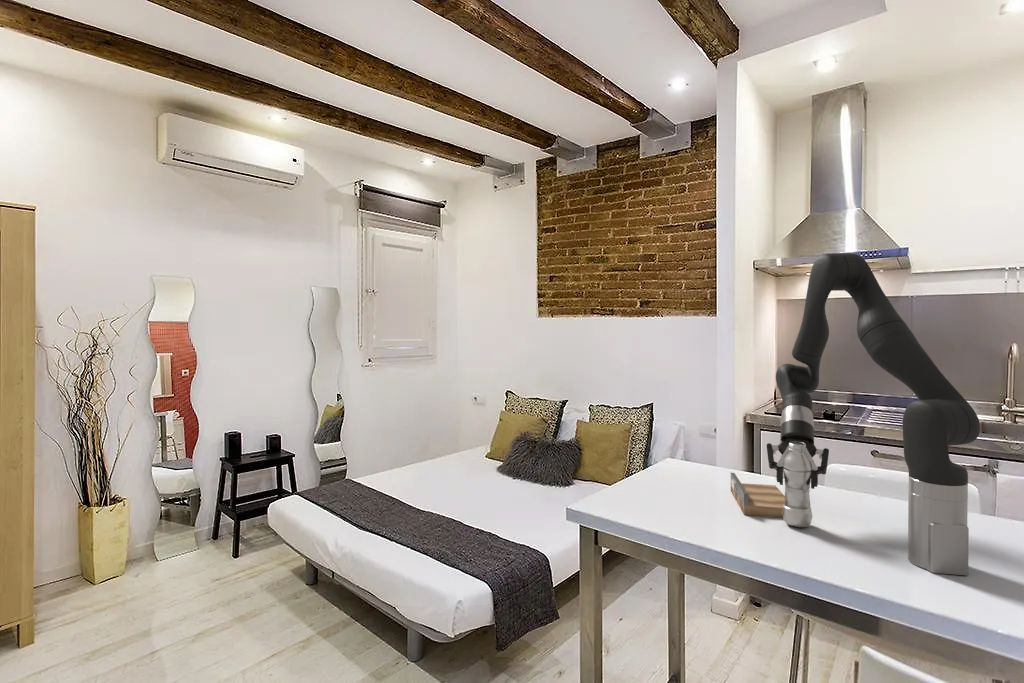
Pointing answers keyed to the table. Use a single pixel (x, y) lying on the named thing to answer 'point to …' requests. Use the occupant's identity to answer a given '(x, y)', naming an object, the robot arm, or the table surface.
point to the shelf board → (761, 500)
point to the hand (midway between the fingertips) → (796, 484)
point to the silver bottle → (797, 486)
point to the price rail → (739, 489)
